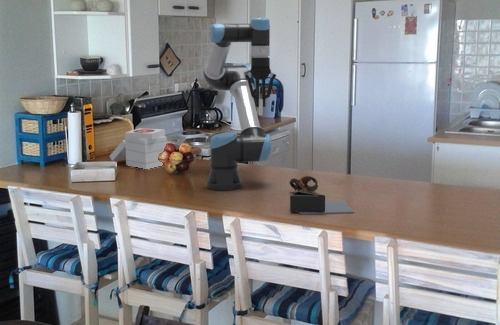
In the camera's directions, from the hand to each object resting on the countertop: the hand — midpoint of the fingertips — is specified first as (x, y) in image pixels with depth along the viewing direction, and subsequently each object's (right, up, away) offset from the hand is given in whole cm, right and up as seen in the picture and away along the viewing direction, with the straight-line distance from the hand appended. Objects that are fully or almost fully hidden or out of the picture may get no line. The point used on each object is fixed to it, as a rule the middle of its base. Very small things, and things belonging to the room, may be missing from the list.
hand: (260, 114), depth 257 cm
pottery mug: (+18, -33, +3) cm, 37 cm away
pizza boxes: (-61, -21, +65) cm, 92 cm away
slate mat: (+23, -37, -21) cm, 48 cm away
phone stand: (+12, -34, -23) cm, 43 cm away
